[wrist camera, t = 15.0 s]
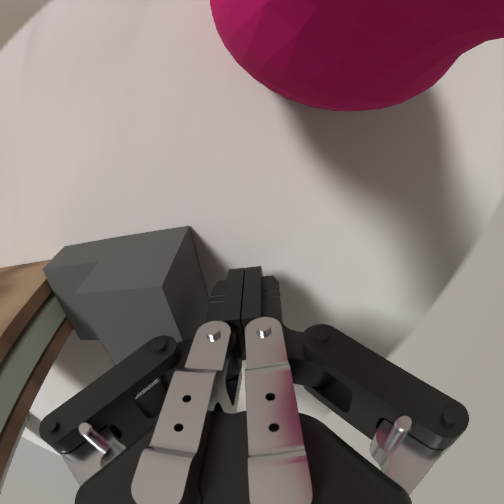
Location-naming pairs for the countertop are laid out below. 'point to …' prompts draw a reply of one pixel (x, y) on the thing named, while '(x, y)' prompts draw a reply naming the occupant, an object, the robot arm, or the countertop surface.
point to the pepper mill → (353, 45)
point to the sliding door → (27, 353)
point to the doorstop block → (131, 289)
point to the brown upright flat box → (9, 328)
